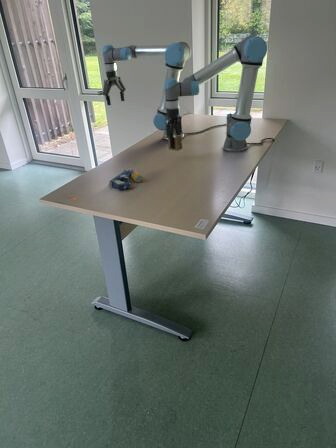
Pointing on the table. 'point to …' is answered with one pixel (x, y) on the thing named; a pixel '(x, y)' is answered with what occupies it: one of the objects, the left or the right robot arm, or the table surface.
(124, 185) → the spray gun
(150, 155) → the table surface
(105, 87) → the left robot arm
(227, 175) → the table surface
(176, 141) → the block
